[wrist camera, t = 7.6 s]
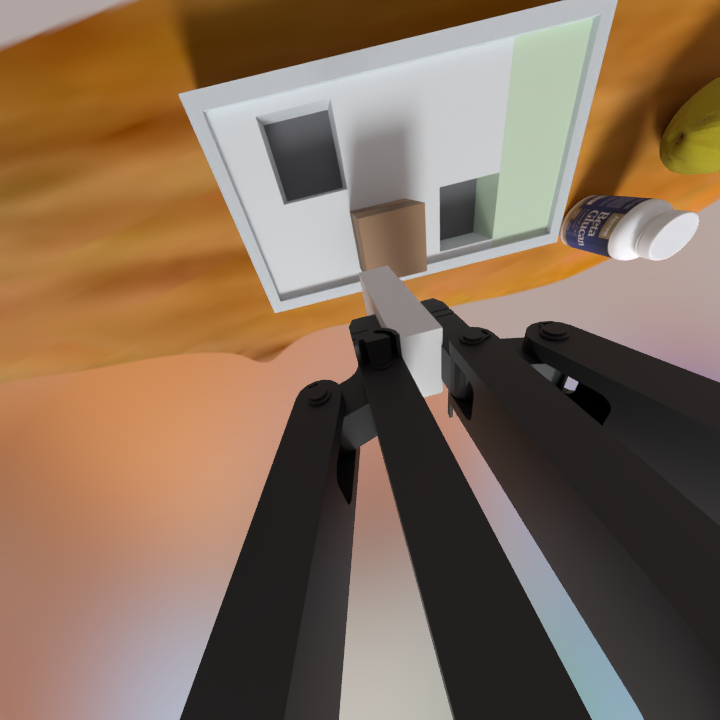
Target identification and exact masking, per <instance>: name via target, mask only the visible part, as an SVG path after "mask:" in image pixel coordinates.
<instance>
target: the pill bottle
mask: <svg viewBox="0 0 720 720" xmlns="http://www.w3.org/2000/svg"><path fill="white" fill-rule="evenodd" d="M698 224H699V217H698V215H697V214H696V213H695V212H691V211H682V210H673V207H672V205H671V204H670V203H669V202H667V201H665V200H661V199H652V198H638V197H625V196H609V195H592V196H588V197H586V198H584V199H582V200H581V201H579V202H578V203H577V204H575V205H574V206H573V207H572V208H571V209H570V211H569V212H568V213H567V215H566V216H565V218H564V220H563V222H562V225H561V229H560V237H561V240H562V242H563V243H564V244H565V245H567V246H570V247H573V248H577V249H581V250H585V251H588V252H592V253H596V254H599V255H603V256H606V257H610V258H614V259H618V260H631V259H635V258H638V257H643V258H647V259H651V260H663V259H666V258H668V257H670V256H672V255H673V254H675V253H676V252H678V251H679V250H680V249H681V248H683V247H684V246H685V245H686V244H687V243H688V242H689V240H690V239H691V238H692V236H693V235H694V233H695V231H696V230H697V227H698Z"/></svg>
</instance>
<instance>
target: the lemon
mask: <svg viewBox="0 0 720 720" xmlns="http://www.w3.org/2000/svg"><path fill="white" fill-rule="evenodd" d="M660 158H661V160H662V162H663V164H664V165H665V166H666V167H667V168H668V169H669V170H670V171H673V172H676V173H679V174H685V175H694V174H707V173H714V172H719V171H720V77H718V78H716V79H715V80H713V81H711V82H710V83H708V84H707V85H706V86H704V87H703V88H702V89H700V90H699V91H698V92H696V93H695V94H694V95H693V96H692V97H691V98H690V99H689V100H688V101H687V102H686V103H685V104H684V105H683V106H682V107H681V108H680V109H679V110H678V112H677V113H676V114H675V115H674V117H673V118H672V120H671V121H670V123H669V125H668V126H667V128H666V130H665V132H664V134H663V136H662V139H661V143H660Z"/></svg>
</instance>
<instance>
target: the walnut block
mask: <svg viewBox="0 0 720 720" xmlns="http://www.w3.org/2000/svg"><path fill="white" fill-rule="evenodd" d="M350 217H351V222H352V227H353V233H354V238H355V243H356V249H357V254H358V259H359V265H360V269H361V271H362V272H364V271H368V270H372V269H376V268H379V267H383V266H387V265H388V266H389V268H390V269H391V270H392V271H393V272H394V273H395V274H396V276H397V277H398V278H401V277H405V276H409V275H413V274H417V273H421V272H425V271H427V252H426V221H425V203H424V202H420V201H415V200H410V199H406V198H403V199H399V200H395V201H391V202H387V203H383V204H379V205H375V206H370V207H366V208H362V209H358V210H354V211H350Z"/></svg>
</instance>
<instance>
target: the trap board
mask: <svg viewBox="0 0 720 720" xmlns="http://www.w3.org/2000/svg"><path fill="white" fill-rule="evenodd" d="M617 1H618V0H563V1H559V2H555V3H551V4H546V5H542V6H538V7H534V8H530V9H526V10H522V11H518V12H513V13H509V14H505V15H501V16H497V17H493V18H489V19H485V20H481V21H476V22H472V23H468V24H464V25H460V26H456V27H452V28H448V29H443V30H439V31H435V32H431V33H427V34H423V35H419V36H415V37H411V38H406V39H402V40H398V41H394V42H390V43H386V44H382V45H378V46H373V47H369V48H365V49H361V50H357V51H353V52H349V53H345V54H341V55H336V56H332V57H328V58H324V59H320V60H316V61H312V62H308V63H304V64H299V65H295V66H291V67H287V68H283V69H279V70H275V71H271V72H266V73H262V74H258V75H254V76H250V77H246V78H242V79H238V80H234V81H229V82H225V83H221V84H217V85H213V86H209V87H205V88H201V89H196V90H192V91H188V92H184V93H180V94H178V95H179V97H180V99H181V101H182V104H183V106H184V108H185V111H186V113H187V115H188V117H189V120H190V122H191V124H192V126H193V129H194V131H195V133H196V135H197V138H198V140H199V142H200V145H201V147H202V149H203V151H204V154H205V156H206V158H207V160H208V163H209V165H210V167H211V169H212V172H213V174H214V176H215V179H216V181H217V183H218V185H219V188H220V190H221V192H222V194H223V197H224V199H225V201H226V203H227V206H228V208H229V210H230V213H231V215H232V217H233V219H234V222H235V224H236V226H237V228H238V231H239V233H240V235H241V238H242V240H243V242H244V244H245V247H246V249H247V251H248V253H249V256H250V258H251V260H252V262H253V265H254V267H255V269H256V272H257V274H258V276H259V278H260V281H261V283H262V285H263V287H264V290H265V292H266V294H267V296H268V299H269V301H270V303H271V306H272V308H273V310H274V312H275V313H278V312H282V311H286V310H290V309H294V308H297V307H301V306H305V305H309V304H313V303H317V302H321V301H325V300H329V299H333V298H337V297H341V296H345V295H349V294H353V293H357V292H361V291H362V287H361V282H360V277H359V273H360V272H362V271H361V269H360V265H359V259H358V254H357V249H356V243H355V238H354V233H353V227H352V222H351V217H350V211H354V210H358V209H362V208H366V207H370V206H375V205H379V204H383V203H387V202H391V201H395V200H399V199H403V198H406V199H410V200H415V201H420V202H424V203H425V221H426V252H427V271H425V272H421V273H417V274H413V275H409V276H405V277H401V278H399V279H400V280H401V281H404V280H408V279H412V278H416V277H420V276H424V275H428V274H432V273H436V272H440V271H444V270H448V269H452V268H456V267H460V266H464V265H468V264H472V263H476V262H480V261H484V260H488V259H491V258H495V257H499V256H503V255H507V254H511V253H515V252H519V251H523V250H527V249H531V248H535V247H539V246H543V245H547V244H551V243H555V242H557V239H558V235H559V231H560V227H561V223H562V219H563V215H564V211H565V207H566V203H567V199H568V195H569V191H570V187H571V183H572V179H573V175H574V171H575V168H576V164H577V160H578V156H579V152H580V148H581V144H582V140H583V136H584V132H585V128H586V124H587V120H588V116H589V112H590V108H591V104H592V100H593V96H594V92H595V88H596V84H597V80H598V77H599V73H600V69H601V65H602V61H603V57H604V53H605V49H606V45H607V41H608V37H609V33H610V29H611V25H612V21H613V17H614V13H615V9H616V5H617Z"/></svg>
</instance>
